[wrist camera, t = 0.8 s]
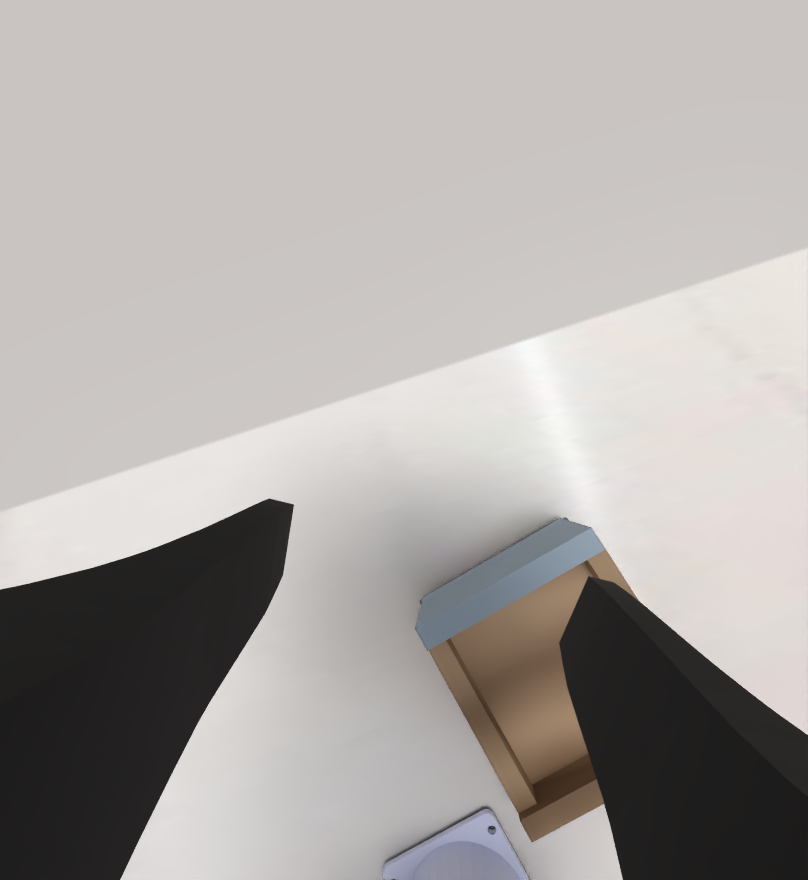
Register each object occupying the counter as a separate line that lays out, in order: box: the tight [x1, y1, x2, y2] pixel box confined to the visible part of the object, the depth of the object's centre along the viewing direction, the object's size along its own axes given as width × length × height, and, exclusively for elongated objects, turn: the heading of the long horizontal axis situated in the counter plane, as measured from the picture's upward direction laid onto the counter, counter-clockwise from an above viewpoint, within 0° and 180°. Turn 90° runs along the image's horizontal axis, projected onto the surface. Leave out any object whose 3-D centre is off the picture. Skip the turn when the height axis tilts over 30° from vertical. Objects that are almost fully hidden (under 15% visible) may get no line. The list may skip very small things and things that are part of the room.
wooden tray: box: [429, 535, 638, 842], centre depth 25 cm, size 12×12×4 cm
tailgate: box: [415, 517, 605, 651], centre depth 24 cm, size 1×11×6 cm, turn 120°
